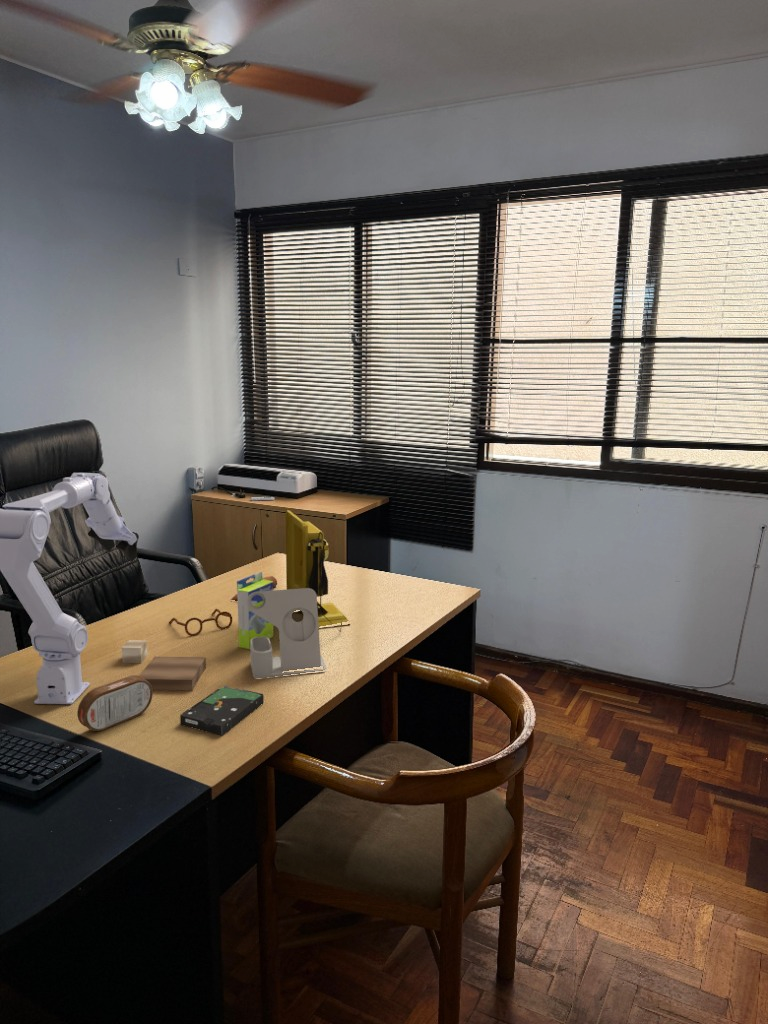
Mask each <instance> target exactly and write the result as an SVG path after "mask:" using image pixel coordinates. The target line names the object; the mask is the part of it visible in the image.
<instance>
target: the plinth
mask: <svg viewBox="0 0 768 1024" xmlns="http://www.w3.org/2000/svg"><path fill="white" fill-rule="evenodd" d="M206 659H207V658H206V657H205V656H200V657H199V656H154V657H153V658H152V659H151V660H149V661H150V662H149V663H148V664H147V665H146V666H145V668H144V669H143V670H142V672H141V673H140V674H139V676H141V677H143V678H144V679H145V680H146V681H148V682H149V683H150V684H151V686H152V691H193V690H194V689H195V686H197V684H198V682H199V680H200V678H201V676H202V675H203V673H204V672H205V670H206V668H207V660H206Z"/></svg>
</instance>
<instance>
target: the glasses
mask: <svg viewBox="0 0 768 1024" xmlns="http://www.w3.org/2000/svg"><path fill="white" fill-rule="evenodd" d="M216 613H218V614H217V615H215V614H216ZM211 614H212V615H213V614H214V615H215V617H210V618H206V619H204V620H202V619H200V618H198V617H191V618H189V619H187V620H186V621H185V623H184V622H181V621H179V620H177V618H176V617H172V618H171V620H169V621H168V623H169V624H172V623H173V622H175V623H176V624H177V625H178V626H179V625H180V626H183V627H184V631H185V634H186V635H187V636H190V637H194V636H198V635H200V634H201V632H202V631H203V624H204V623H206V622H210V621H215V625H216V627H217V628H218V629H220V630H226V629H225V628H227V629H229V628H230V627H231V626H232V625H233V616H232V614H231V613H230V612H228V611H221V610H220V609H218V608H215V609H214V610H213V612H212V613H211ZM220 616H223V617H226V618H227V617H228V618H229V622H228V624H227V625H226V626H220V624H219V621H218V620H219V617H220ZM191 621H197V622H198V623H199V630H198V631H197V632H195V633H191V632H189V630H188V625H189V623H190V622H191Z"/></svg>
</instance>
